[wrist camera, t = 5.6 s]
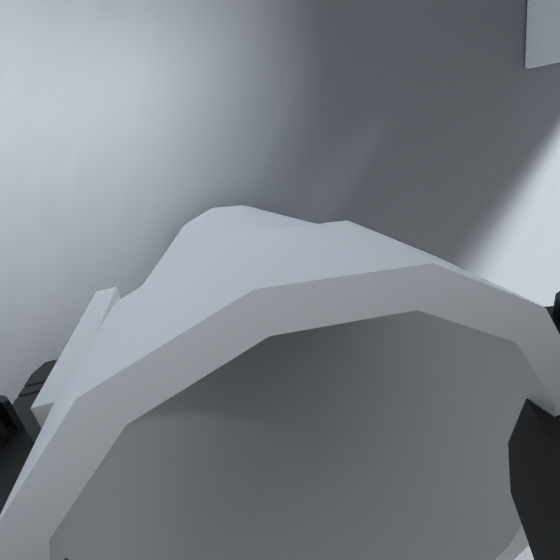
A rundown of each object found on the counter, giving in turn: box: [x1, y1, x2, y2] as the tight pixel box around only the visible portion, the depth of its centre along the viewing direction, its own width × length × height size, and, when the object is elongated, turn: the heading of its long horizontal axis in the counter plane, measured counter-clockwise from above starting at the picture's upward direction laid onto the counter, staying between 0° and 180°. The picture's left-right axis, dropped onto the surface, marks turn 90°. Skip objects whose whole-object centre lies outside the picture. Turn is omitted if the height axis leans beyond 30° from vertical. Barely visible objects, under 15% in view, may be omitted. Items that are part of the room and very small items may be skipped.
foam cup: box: [0, 205, 560, 560], centre depth 11 cm, size 10×9×13 cm
